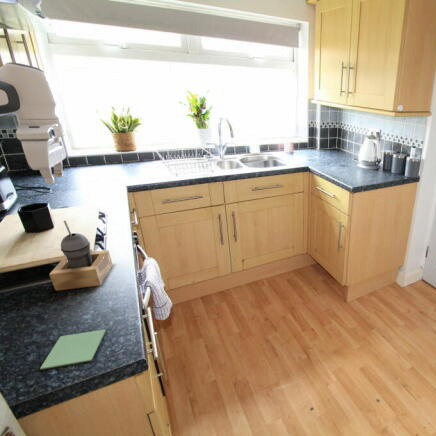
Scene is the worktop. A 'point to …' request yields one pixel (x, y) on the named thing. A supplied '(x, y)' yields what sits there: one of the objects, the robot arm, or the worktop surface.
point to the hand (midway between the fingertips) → (55, 179)
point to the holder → (82, 272)
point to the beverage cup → (76, 249)
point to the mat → (74, 349)
